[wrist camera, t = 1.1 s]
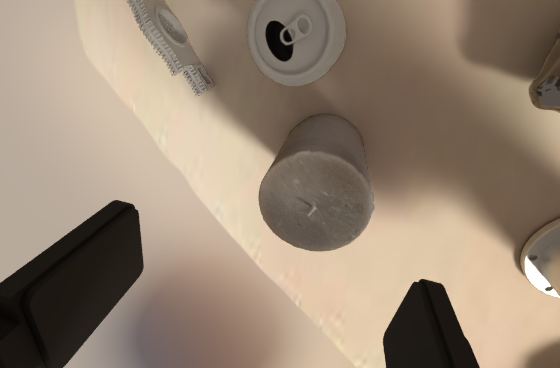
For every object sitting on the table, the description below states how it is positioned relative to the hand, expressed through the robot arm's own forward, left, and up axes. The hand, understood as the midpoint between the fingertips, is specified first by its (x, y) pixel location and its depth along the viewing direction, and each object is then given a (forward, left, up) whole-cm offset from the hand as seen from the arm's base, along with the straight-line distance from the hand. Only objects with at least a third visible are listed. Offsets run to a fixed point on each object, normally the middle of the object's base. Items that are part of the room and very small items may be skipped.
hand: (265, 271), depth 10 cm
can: (+1, -8, -27) cm, 28 cm away
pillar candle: (0, +5, -27) cm, 28 cm away
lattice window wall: (+16, -9, -28) cm, 33 cm away
